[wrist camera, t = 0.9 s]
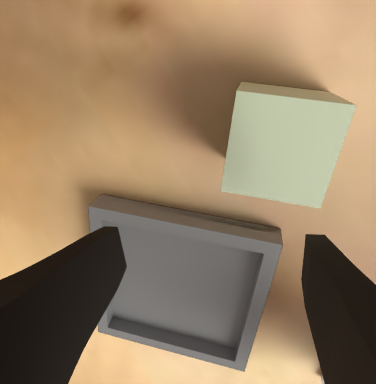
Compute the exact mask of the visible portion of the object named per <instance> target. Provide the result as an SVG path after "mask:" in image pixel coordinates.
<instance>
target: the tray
mask: <svg viewBox="0 0 376 384" xmlns="http://www.w3.org/2000/svg"><path fill="white" fill-rule="evenodd" d="M88 211H89V223H90V233H92V232H93V231H95V230H97V229H99V228H102V227H104V226H112V227H118V230H119V234H120V238H121V243H122V247H123V251H124V256H125V260H126V264H127V268H126V271H125V273H124V276H123V278H122V281H121V283H120V285H119V288H118V290H117V292H116V293H115V295H114V297H113V299H112V300H111V302H110V304H109V306H108V307H107V309H106V311H105V313H104V314H103V316H102V318H101V319H100V321H99V323H98V332H100V333H104V334H108V335H111V336H115V337H119V338H122V339H126V340H130V341H133V342H137V343H141V344H144V345H148V346H152V347H155V348H159V349H163V350H166V351H170V352H174V353H177V354H181V355H185V356H188V357H192V358H196V359H199V360H203V361H207V362H210V363H214V364H218V365H222V366H225V367H229V368H233V369H236V370H240V371H244V372H245V368H246V365H247V362H248V358H249V355H250V352H251V349H252V345H253V342H254V339H255V335H256V332H257V329H258V325H259V322H260V319H261V316H262V312H263V309H264V306H265V302H266V299H267V296H268V293H269V289H270V286H271V283H272V279H273V276H274V273H275V269H276V266H277V263H278V260H279V256H280V253H281V250H282V246H283V242H282V235H281V229H279V228H274V227H269V226H264V225H259V224H253V223H248V222H243V221H238V220H233V219H227V218H222V217H217V216H212V215H207V214H201V213H196V212H191V211H186V210H181V209H175V208H170V207H165V206H160V205H155V204H149V203H144V202H139V201H134V200H128V199H123V198H118V197H113V196H108V195H102V194H101V195H100V196H99V197H98V198H97V199H95V200H94V201H93V202H92V203H91V204H90V205H89V206H88Z"/></svg>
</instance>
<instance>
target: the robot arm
mask: <svg viewBox="0 0 376 384" xmlns="http://www.w3.org/2000/svg"><path fill="white" fill-rule="evenodd" d="M126 268H127V264H126V260H125V256H124V251H123V247H122V243H121V238H120V234H119V230H118V227H112V226H104V227H102V228H99V229H97V230H95V231H93V232H92V233H90V234H88V235H86V236H84V237H83V238H81V239H79V240H77V241H76V242H74V243H72V244H70V245H69V246H67V247H65V248H63V249H62V250H60V251H58V252H56V253H54V254H52V255H51V256H49V257H47V258H45V259H43V260H41V261H39V262H37V263H35V264H34V265H32V266H30V267H28V268H26V269H24V270H21V271H19V272H17V273H15V274H13V275H10V276H8V277H6V278H4V279H1V280H0V384H68V383H69V380H70V378H71V376H72V374H73V371H74V369H75V367H76V365H77V363H78V360H79V358H80V356H81V354H82V352H83V350H84V348H85V346H86V344H87V342H88V340H89V338H90V337H91V335H92V333H93V331H94V330H95V328H96V326H97V325H98V323H99V321H100V319H101V318H102V316H103V314H104V313H105V311H106V309H107V307H108V306H109V304H110V302H111V300H112V299H113V297H114V295H115V293H116V292H117V290H118V288H119V285H120V283H121V281H122V278H123V276H124V273H125V271H126ZM301 280H302V288H303V296H304V303H305V309H306V313H307V317H308V321H309V324H310V328H311V332H312V336H313V340H314V344H315V348H316V351H317V355H318V359H319V363H320V367H321V371H322V376H321V381H322V383H323V384H376V285H375V284H374V283H373V282H372V281H371V280H370V279H369V278H368V277H366V276H365V275H364V274H363V273H362V272H361V271H360V270H359V269H358V268H357V267H356V266H355V265H354V264H353V263H352V262H351V261H350V260H349V259H348V258H347V257H346V256H345V255H344V254H343V253H342V252H341V251H340V250H339V249H338V248H337V247H336V246H335V245H334V244H333V243H332V242H331V241H330V240H329V239H328V238H327V237H326V236H325V235H312V234H306V238H305V248H304V259H303V269H302V279H301Z"/></svg>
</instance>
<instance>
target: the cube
mask: <svg viewBox="0 0 376 384" xmlns="http://www.w3.org/2000/svg"><path fill="white" fill-rule="evenodd" d="M355 108H356V105H355V104H353V103H351V102H349V101H347V100H345V99H343V98H341V97H339V96H337V95H335V94H333V93H331V92H327V91H318V90H309V89H301V88H292V87H284V86H275V85H267V84H258V83H250V82H241V84H240V85H239V87H238V89H237V91H236V97H235V103H234V110H233V116H232V122H231V128H230V134H229V141H228V147H227V153H226V159H225V166H224V172H223V178H222V184H221V191H223V192H229V193H234V194H240V195H246V196H251V197H257V198H263V199H268V200H274V201H280V202H285V203H291V204H296V205H302V206H308V207H313V208H319V209H320V208H321V205H322V202H323V199H324V196H325V194H326V191H327V188H328V185H329V182H330V179H331V177H332V174H333V171H334V168H335V165H336V162H337V159H338V157H339V154H340V151H341V148H342V145H343V142H344V139H345V137H346V134H347V131H348V128H349V125H350V122H351V120H352V117H353V114H354V111H355Z"/></svg>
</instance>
